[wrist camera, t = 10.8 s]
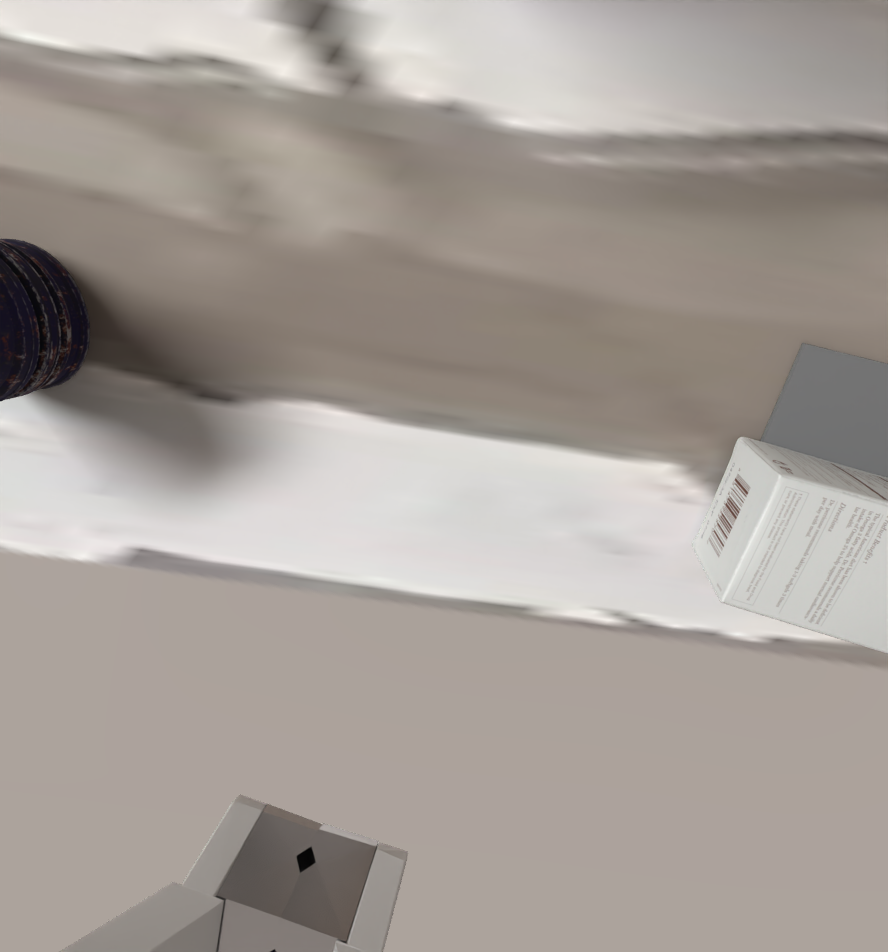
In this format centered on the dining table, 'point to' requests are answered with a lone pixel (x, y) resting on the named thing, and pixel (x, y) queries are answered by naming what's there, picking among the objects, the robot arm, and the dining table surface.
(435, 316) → the dining table surface
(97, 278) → the dining table surface
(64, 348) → the storage jar
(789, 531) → the supplement box
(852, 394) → the mat
